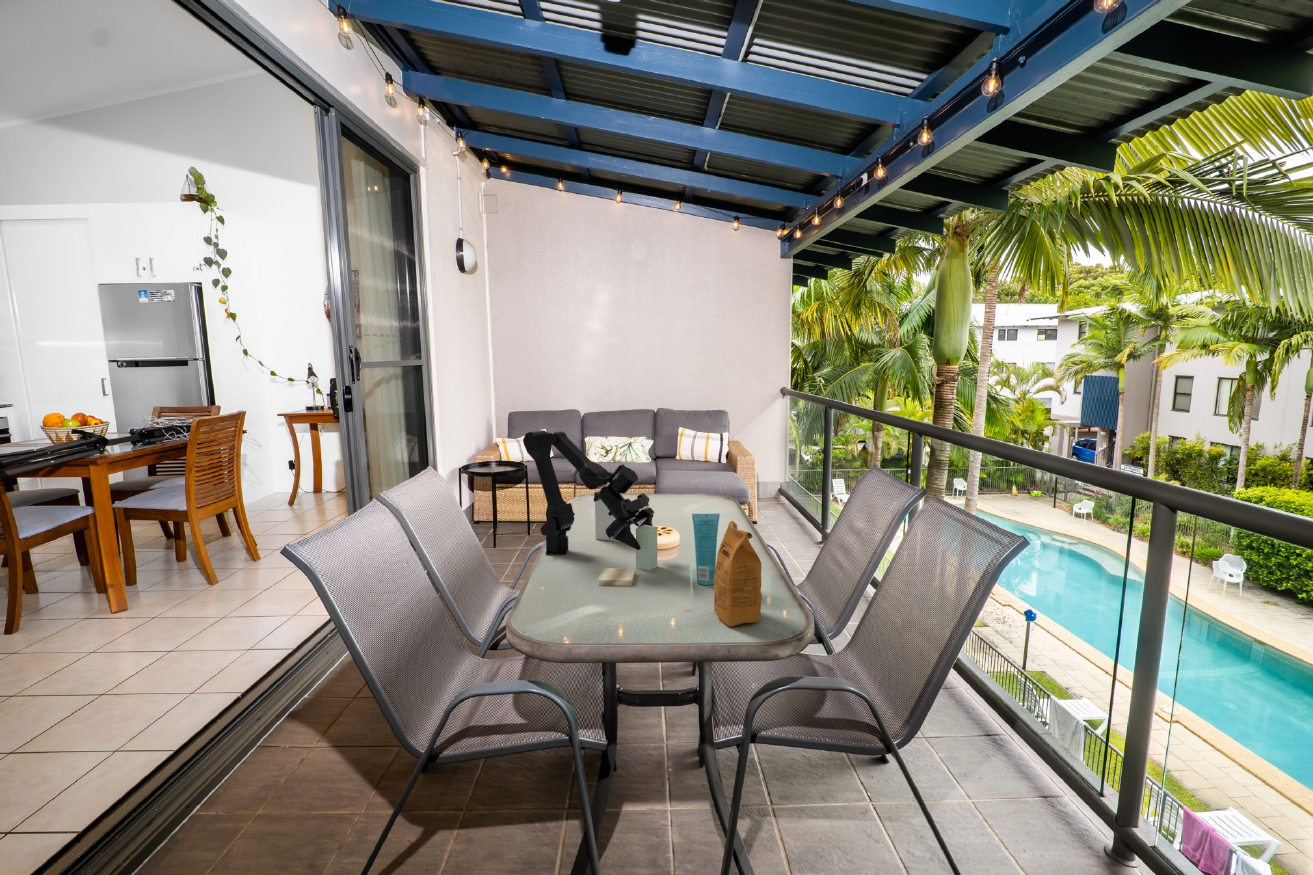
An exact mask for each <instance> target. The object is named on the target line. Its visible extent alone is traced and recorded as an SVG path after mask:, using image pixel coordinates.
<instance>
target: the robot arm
mask: <svg viewBox="0 0 1313 875" xmlns="http://www.w3.org/2000/svg"><path fill="white" fill-rule="evenodd" d="M522 443H523V446H524V448H525V451H526V452H527V454H528V455H529V457H531V459H533V461H534V463H535V466H536V470H537V473H538V477H539V479H540V482H541V487H542V490H543V492H544V493H543V494H544V497H545V500H546V502H547V505H546V511H545V518H546V519H545V520H546V522H545V523H544V524H542V526H541V527H540V529H539V530H540V533H541V535H542V536H545V555H546V554H550V556H551V555H553V556H554V555H566V554H567V552H568V551H569V536H568V535H567V532H569V531H571V530H572V525H574V522H575V515H576V513H575V512H574V509H573V505H572V503H571V502H568V503H567V502H566V501H565V500H564V498H563V496H562V492H561V489H560V485H559V482H558V480H557V479H558V478H557V476H556V472H555V469H554V465H553V462H552V458H551V453H552V448H553V447H554V448H556V449H557V451H558V452H559V453H560V454H561V456H563V457H564V458H565V460H567V462H569V463H570V465H571V466H573V467H574V468H575V470H576V471H577V472H578V476H579V479H580V481H581V482H582V484H583V485H584V487H585V488H587V489H588V490H596V489H600V488H601V489H600V490H599V491H598V490H597V491H594V495H593V502H594V503H595V502H596V501H599V500H601V501H602V502H603V503H604V505H605V506H606V507H607V508H608V510H609V511H610V512H609V513H608V515H609V516H612V515H613V516H614V518H615V519H616V520H614V521H613V522H612V523H611V524H610V525H609V526H608V527H607V528H606V535H607V536H608V538H609V539H611V538H613V537H614V538H613V539H614V540H615V541H618V542H620V543H621V544H622V543H623V544H625V545H627V546H629V547H630V548H633V549H634V550H636V549H637V550H640V549H641V547H640V545H639V543H638V542H637V540H636V536H634V534H633V533H632V531H631V526H632V525H634V526H636V527H640V526H643V525H648V526H654V525H653V522H652V521H653V518H654V514H655V511H654V510H653V508H652V507H649V506H650V504H649V503H650V500H651V499H650V498H649V496H648V495H647V494H645V493H644V492H643V493H640V494H638V495H636V498H635V499H634V500H633V499H632V500H631V499H630V498H624V496H623V495H625V494H627V492H628V491H629V490H631V489H632V488H633V486H634V485H635V484H636V482H638V480H639V477H638V474H637V473H636V472H635V470H633V469H631V467H628V466H626V465H625V464H619V465H618V466H617V467H616V469H615V470H614V472H610V471H608V470H607V469H606V468H605V467H603V466H602V465H600V464H599V463H597V462H595V461H592V460H591V459H589V457H587V455H586V454H584V452H582V450H581V449H580V448H578V446H577V445H576V444H574V442H573V441H571V439H570V438H569V437H568V436H567V434H566V432H564V431H560V430H559V431H555V432H547V431H546V430H543V429H542V430H536V431H535V430H534V431H529V432H526V433H525V435H524V437H523V439H522ZM608 483H610V484H609V485H608V486H606V485H607V484H608ZM620 493H621V494H622V495H621V494H620Z"/></svg>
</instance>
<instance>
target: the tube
mask: <svg viewBox="0 0 1313 875" xmlns="http://www.w3.org/2000/svg"><path fill="white" fill-rule="evenodd" d="M691 518H692V525H693V536H694V549H695V550H694V551H695V552H694V554H695V568H696V569H695V570H696V583H698V585H703V586H710V585H714V576H715V569H716V562H717V546H718V534H719V533H718V532H719V522H720V513H718V512H717V513H692V514H691Z"/></svg>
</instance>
